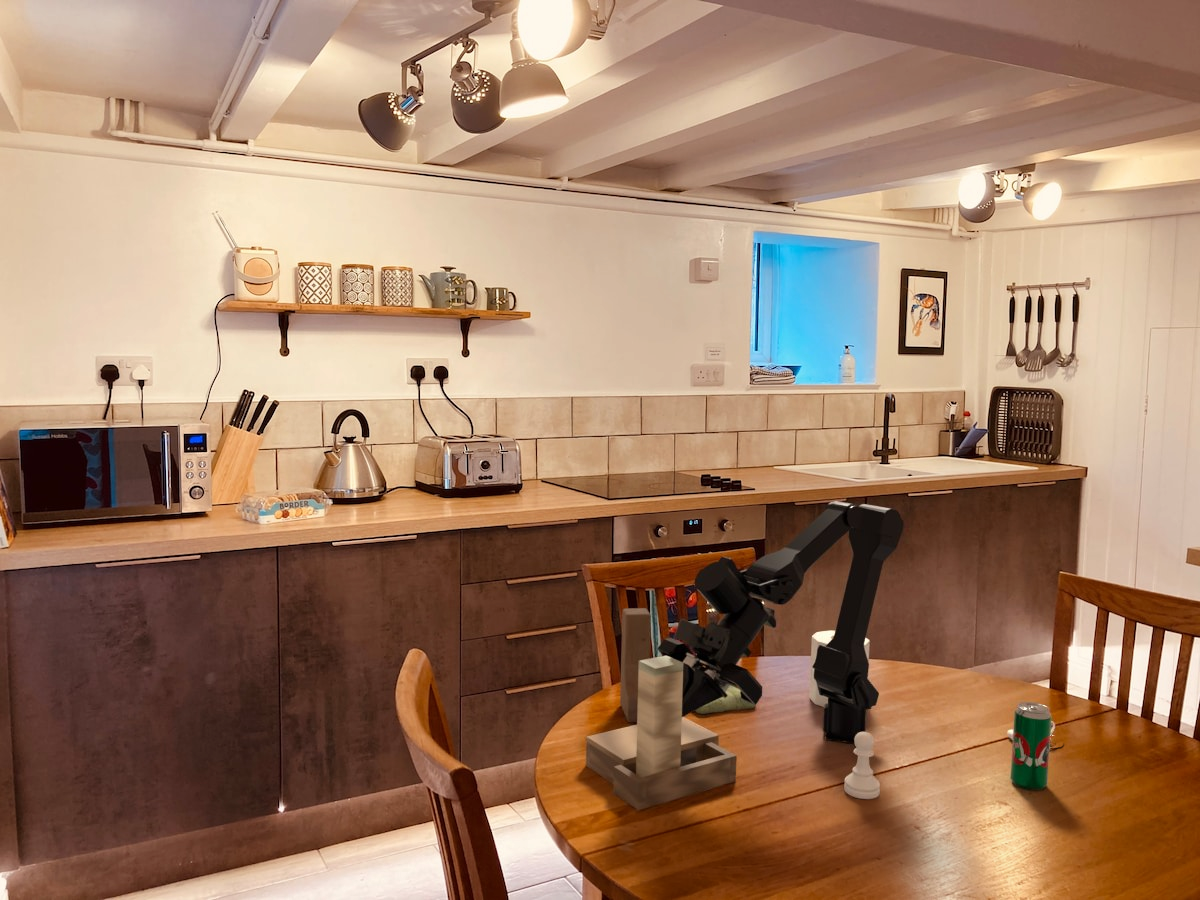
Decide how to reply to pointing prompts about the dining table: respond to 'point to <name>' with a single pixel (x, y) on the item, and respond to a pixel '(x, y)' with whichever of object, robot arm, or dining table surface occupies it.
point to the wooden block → (633, 656)
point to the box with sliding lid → (696, 773)
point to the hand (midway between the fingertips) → (675, 716)
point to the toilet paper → (817, 640)
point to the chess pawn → (862, 770)
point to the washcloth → (726, 703)
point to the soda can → (1031, 746)
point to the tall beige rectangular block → (659, 715)
